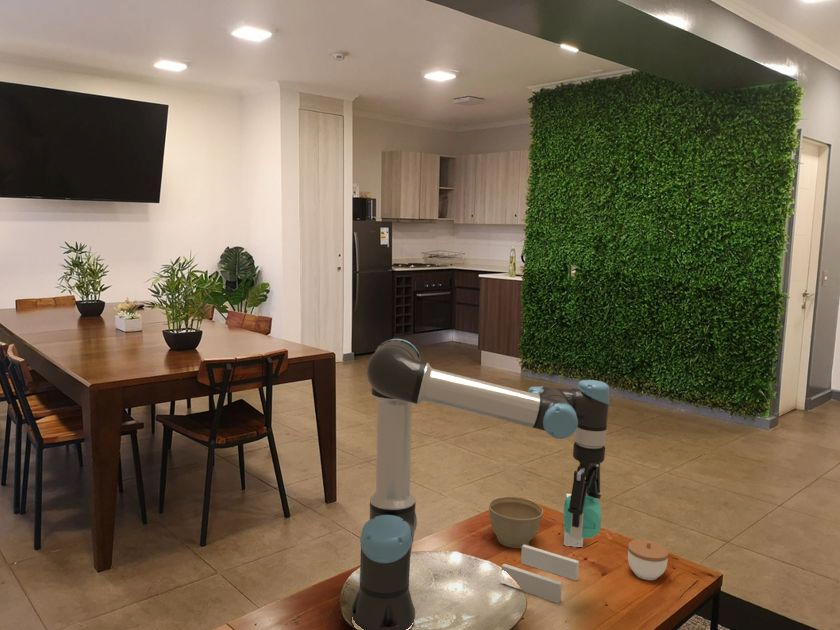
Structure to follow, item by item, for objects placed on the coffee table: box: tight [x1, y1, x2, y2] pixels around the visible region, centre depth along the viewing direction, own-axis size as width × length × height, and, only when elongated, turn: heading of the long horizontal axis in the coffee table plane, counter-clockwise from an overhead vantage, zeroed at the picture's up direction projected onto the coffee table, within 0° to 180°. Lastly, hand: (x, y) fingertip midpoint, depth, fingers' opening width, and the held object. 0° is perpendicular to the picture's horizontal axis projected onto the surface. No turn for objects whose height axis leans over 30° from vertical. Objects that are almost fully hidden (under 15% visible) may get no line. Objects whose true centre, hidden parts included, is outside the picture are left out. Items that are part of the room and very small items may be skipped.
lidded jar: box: [627, 539, 670, 581], centre depth 180 cm, size 11×11×9 cm
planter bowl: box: [488, 496, 544, 549], centre depth 196 cm, size 16×16×11 cm
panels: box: [501, 544, 580, 604], centre depth 174 cm, size 16×15×5 cm
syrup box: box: [563, 493, 584, 548], centre depth 197 cm, size 6×6×14 cm
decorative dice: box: [563, 494, 602, 539], centre depth 161 cm, size 8×8×8 cm
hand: (582, 530), depth 162 cm, fingers closed on decorative dice, 10 cm apart
